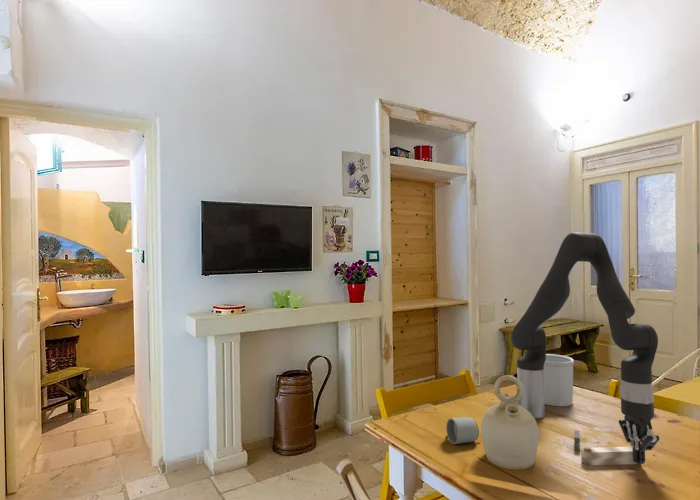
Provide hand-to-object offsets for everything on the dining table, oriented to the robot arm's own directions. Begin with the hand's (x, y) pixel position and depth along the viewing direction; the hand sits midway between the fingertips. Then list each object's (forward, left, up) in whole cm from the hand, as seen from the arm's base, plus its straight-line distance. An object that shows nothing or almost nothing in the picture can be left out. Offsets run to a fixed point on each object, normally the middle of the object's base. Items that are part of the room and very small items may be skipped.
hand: (639, 462), depth 117 cm
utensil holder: (-23, +55, -3) cm, 59 cm away
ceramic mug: (-48, +1, -3) cm, 48 cm away
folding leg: (-7, 0, -1) cm, 7 cm away
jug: (-32, -9, -3) cm, 33 cm away
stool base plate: (-6, +3, -3) cm, 8 cm away
